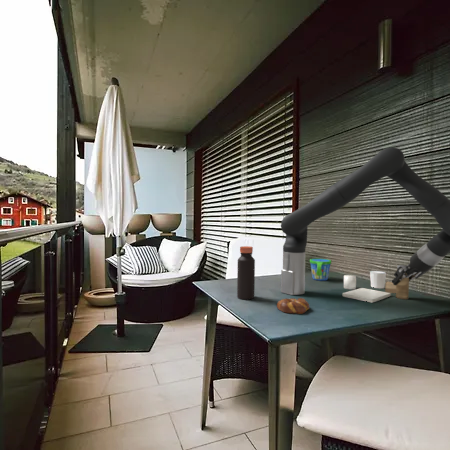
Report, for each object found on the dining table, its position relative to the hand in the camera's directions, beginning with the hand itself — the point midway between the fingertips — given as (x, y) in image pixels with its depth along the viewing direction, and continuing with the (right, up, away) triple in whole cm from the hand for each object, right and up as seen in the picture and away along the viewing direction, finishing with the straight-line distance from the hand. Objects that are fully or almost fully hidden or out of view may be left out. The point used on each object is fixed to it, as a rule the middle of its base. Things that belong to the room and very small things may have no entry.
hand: (398, 282), depth 124 cm
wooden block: (+2, -6, +8) cm, 10 cm away
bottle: (-62, -5, -4) cm, 63 cm away
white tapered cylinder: (0, -5, +18) cm, 18 cm away
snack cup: (-21, -5, +33) cm, 40 cm away
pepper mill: (+1, -6, -2) cm, 6 cm away
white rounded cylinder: (-14, -5, +14) cm, 21 cm away
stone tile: (-13, -5, 0) cm, 14 cm away
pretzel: (-47, -6, -18) cm, 50 cm away
